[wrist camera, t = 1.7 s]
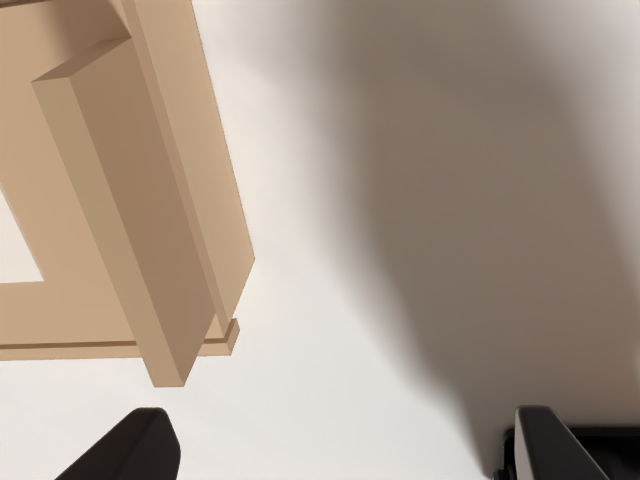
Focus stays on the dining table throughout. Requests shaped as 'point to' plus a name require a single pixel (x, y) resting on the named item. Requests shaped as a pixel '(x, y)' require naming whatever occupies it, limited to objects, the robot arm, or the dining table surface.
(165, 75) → the mailer box
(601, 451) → the robot arm
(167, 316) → the lid
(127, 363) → the dining table surface
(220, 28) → the dining table surface
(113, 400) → the dining table surface
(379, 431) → the dining table surface
